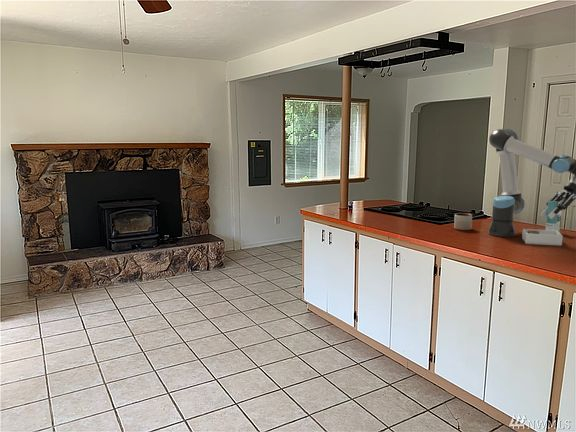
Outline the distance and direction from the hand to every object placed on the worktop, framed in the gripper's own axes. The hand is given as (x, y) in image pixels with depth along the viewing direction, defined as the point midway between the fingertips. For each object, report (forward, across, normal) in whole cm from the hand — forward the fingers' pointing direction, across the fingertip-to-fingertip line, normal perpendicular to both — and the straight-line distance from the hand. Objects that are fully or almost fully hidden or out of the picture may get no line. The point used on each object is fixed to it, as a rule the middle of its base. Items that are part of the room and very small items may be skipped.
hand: (546, 216), depth 242 cm
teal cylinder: (0, 0, -5) cm, 5 cm away
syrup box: (-6, +21, -28) cm, 35 cm away
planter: (+26, +46, +5) cm, 53 cm away
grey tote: (+11, +2, -11) cm, 15 cm away
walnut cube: (+13, +4, -8) cm, 15 cm away
